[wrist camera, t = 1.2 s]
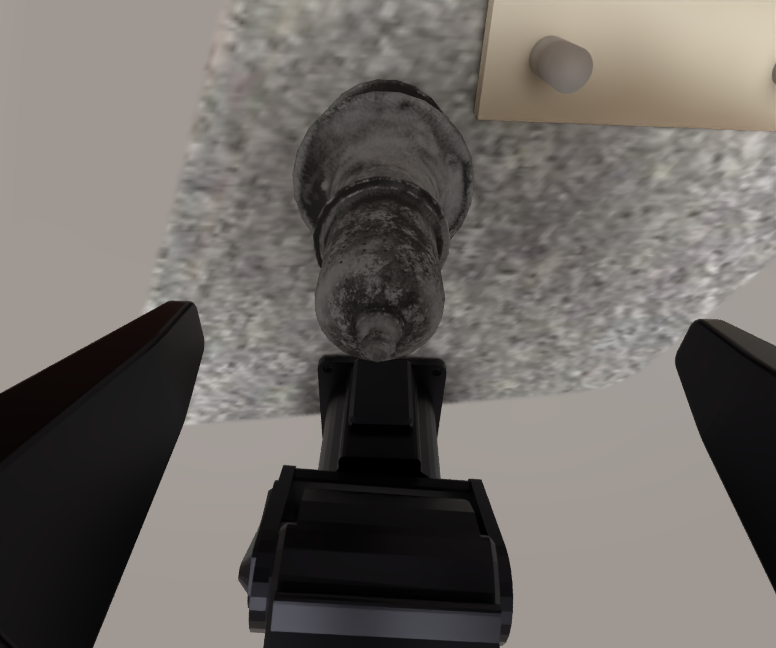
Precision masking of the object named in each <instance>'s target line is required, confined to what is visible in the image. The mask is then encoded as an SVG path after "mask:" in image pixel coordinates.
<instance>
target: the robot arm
mask: <svg viewBox="0 0 776 648" xmlns="http://www.w3.org/2000/svg"><path fill="white" fill-rule="evenodd" d="M203 351H204V336H203V331H202V327H201V323H200V319H199V315H198V311H197V307H196V306H195V304H194V303H193V302H191V301H168V302H166V303H164V304H162V305H161V306H159V307H157V308H155V309H153V310H152V311H150V312H148V313H146V314H144V315H142V316H141V317H139V318H137V319H135V320H133V321H132V322H130V323H128V324H126V325H124V326H122V327H120V328H119V329H117V330H115V331H113V332H111V333H110V334H108V335H106V336H104V337H102V338H100V339H99V340H97V341H95V342H93V343H91V344H89V345H88V346H86V347H84V348H82V349H80V350H78V351H77V352H75V353H73V354H71V355H69V356H67V357H66V358H64V359H62V360H60V361H58V362H57V363H55V364H53V365H51V366H49V367H47V368H46V369H44V370H42V371H41V372H38V373H37V374H35V375H33V376H31V377H29V378H27V379H26V380H24V381H22V382H20V383H18V384H16V385H15V386H13V387H11V388H9V389H7V390H5V391H4V392H2V393H0V648H93V646H94V644H95V641H96V639H97V636H98V634H99V631H100V629H101V626H102V624H103V622H104V619H105V617H106V614H107V612H108V609H109V607H110V604H111V602H112V599H113V597H114V594H115V592H116V589H117V587H118V585H119V582H120V580H121V577H122V575H123V572H124V569H125V567H126V565H127V562H128V560H129V557H130V555H131V553H132V550H133V548H134V545H135V542H136V540H137V538H138V535H139V533H140V530H141V528H142V525H143V523H144V521H145V518H146V516H147V513H148V511H149V508H150V506H151V503H152V501H153V498H154V496H155V494H156V491H157V489H158V486H159V484H160V481H161V479H162V476H163V474H164V471H165V469H166V466H167V464H168V462H169V459H170V456H171V454H172V451H173V449H174V447H175V444H176V442H177V439H178V437H179V434H180V432H181V429H182V426H183V424H184V421H185V418H186V414H187V411H188V407H189V404H190V400H191V396H192V393H193V389H194V385H195V381H196V378H197V374H198V370H199V366H200V363H201V359H202V355H203ZM327 365H328V366H331V368H327V367H325V366H327ZM675 365H676V369H677V371H678V375H679V377H680V380H681V383H682V386H683V389H684V391H685V395H686V397H687V400H688V403H689V406H690V409H691V412H692V414H693V417H694V420H695V423H696V426H697V428H698V431H699V434H700V436H701V438H702V441H703V443H704V445H705V448H706V450H707V452H708V454H709V456H710V458H711V460H712V462H713V464H714V466H715V468H716V470H717V473H718V475H719V477H720V479H721V481H722V483H723V485H724V487H725V489H726V491H727V493H728V495H729V497H730V499H731V502H732V504H733V506H734V508H735V510H736V512H737V514H738V516H739V518H740V520H741V522H742V525H743V527H744V529H745V531H746V533H747V535H748V537H749V539H750V541H751V543H752V545H753V547H754V549H755V552H756V554H757V555H758V558H759V560H760V562H761V564H762V566H763V568H764V570H765V572H766V574H767V576H768V578H769V581H770V582H771V585H772V587H773V589H774V591H775V593H776V346H775V345H773V344H770V343H768V342H766V341H764V340H762V339H760V338H757V337H756V336H754V335H752V334H750V333H748V332H745V331H744V330H741V329H739V328H737V327H735V326H733V325H731V324H729V323H727V322H725V321H723V320H718V319H698V320H696V321H694V322H693V323H692V324H691V326H690V327H689V329H688V331H687V333H686V335H685V337H684V339H683V341H682V343H681V345H680V347H679V349H678V351H677V354H676V357H675ZM434 369H440V370H439V371H433V370H434ZM318 380H319V395H320V409H321V422H322V437H323V441H322V447H321V454H320V461H319V468H318V470H314V469H301V468H296V466H289V465H284V466H283V468H282V471H281V474H280V477H279V480H276V481H275V482H274V485H273V488H272V489H270V490H269V491H268V495H267V500H266V504H265V508H264V512H263V516H262V520H261V523H260V526H259V528H258V531H257V533H256V534H255V536H254V538H253V540H252V543H251V545H250V546H249V548H248V550H247V553H246V554H245V557H244V558H243V561H242V563H241V565H240V569H239V577H238V580H239V582H240V583H241V585H242V586H243V588H244V589H245V591H246V592H247V594H248V608H249V629H250V632H257V633H265V639H264V647H263V648H500V646H502V645H503V644H505V643H506V641H507V639H508V637H509V633H510V629H511V624H512V613H513V589H512V575H511V568H510V562H509V557H508V553H507V550H506V547H505V544H504V541H503V538H502V535H501V532H500V530H499V527H498V524H497V521H496V519H495V516H494V513H493V511H492V508H491V505H490V502H489V499H488V497H487V494H486V491H485V489H484V485H483V483H482V480H480V479H468V481H465V480H451V479H441V478H440V467H439V456H438V447H437V435H438V428H439V421H440V414H441V408H442V401H443V394H444V387H445V380H446V365H445V364H444V362H442V361H440V360H421V359H392V360H386V361H380V362H375V361H369V360H365V359H360V358H356V357H323V358H321V359H320V361H319V365H318Z"/></svg>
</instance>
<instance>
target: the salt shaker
mask: <svg viewBox="0 0 776 648" xmlns="http://www.w3.org/2000/svg"><path fill="white" fill-rule="evenodd" d="M293 184H294V196H295V200H296V203H297V206H298V208H299V211H300V214H301V217H302V219H303V221H304V222H305V224H306V225H307V227H308V228H309V230H310V231H311V232H312V234H313V240H314V252H315V255H316V258H317V261H318V264H319V266H320V268H321V270H320V274H319V278H318V283H317V287H316V291H315V310H316V316H317V319H318V322H319V325H320V327H321V330H322V331H323V332H324V334H325V335H326V336H327V338H328V339H329V340H330V341H331V342H332V343H333V344H335V345H336V346H337V347H338V348H340V349H341V350H342V351H344V352H346V353H348V354H350V355H352V356H354V357H356V358H360V359H365V360H369V361H375V362H380V361H386V360H392V359H397V358H399V357H402V356H404V355H407V354H409V353H411V352H413V351H415V350H416V349H417V348H419V347H420V346H422V345H423V344H425V343H426V342H427V341H428V340H429V338H430V337H431V336H432V335H433V334H434V333H435V331H436V329H437V327H438V325H439V323H440V321H441V318H442V314H443V308H444V301H445V295H444V289H443V283H442V276H441V270H442V267H443V265H444V263H445V261H446V258H447V256H448V252H449V245H450V240H451V238H452V237H453V236H454V234H455V233H456V232H457V231H458V229H459V228H460V227H461V226H462V224H463V221H464V219H465V217H466V215H467V212H468V210H469V208H470V205H471V201H472V194H473V187H474V175H473V167H472V159H471V156H470V154H469V151H468V149H467V147H466V144H465V142H464V140H463V137H462V135H461V134H460V132H459V131H458V130H457V129H456V127H455V126H454V125H453V124H452V122H451V121H450V120H449V119H448V117H447V116H446V115H444V113H443V112H442V111H441V109H440V108H439V107H438V106H437V104H436V103H435V102H434V101H433V99H432V98H431V97H429V96H428V95H426V94H425V93H424V92H422V91H421V90H419V89H418V88H417V87H415V86H412V85H409V84H406V83H403V82H400V81H397V80H374V81H370V82H366V83H362V84H358V85H356V86H355V87H353V88H351V89H350V90H348V91H346V92H345V93H343V94H341V95H340V97H339V98H338V99H337V100H336V101H335V102H334V103H333V104H332V105H331V106H330V107H329V108H328V110H326V111H325V112H324V113H323V114H322V115H321V116H320V117H319V118H318V119H317V120H316V122H315V123H314V124H313V125H312V126H311V127H310V128H309V129H308V131H307V133H306V135H305V137H304V139H303V141H302V143H301V145H300V147H299V149H298V151H297V155H296V160H295V166H294V171H293Z"/></svg>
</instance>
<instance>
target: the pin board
mask: <svg viewBox="0 0 776 648" xmlns="http://www.w3.org/2000/svg"><path fill="white" fill-rule="evenodd" d="M474 114H475V115H476V117H477V119H478V120H501V121H527V122H553V123H579V124H605V125H631V126H657V127H683V128H709V129H735V130H761V131H776V0H489V2H488V10H487V17H486V25H485V32H484V40H483V48H482V55H481V63H480V70H479V78H478V85H477V93H476V101H475V108H474Z"/></svg>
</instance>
